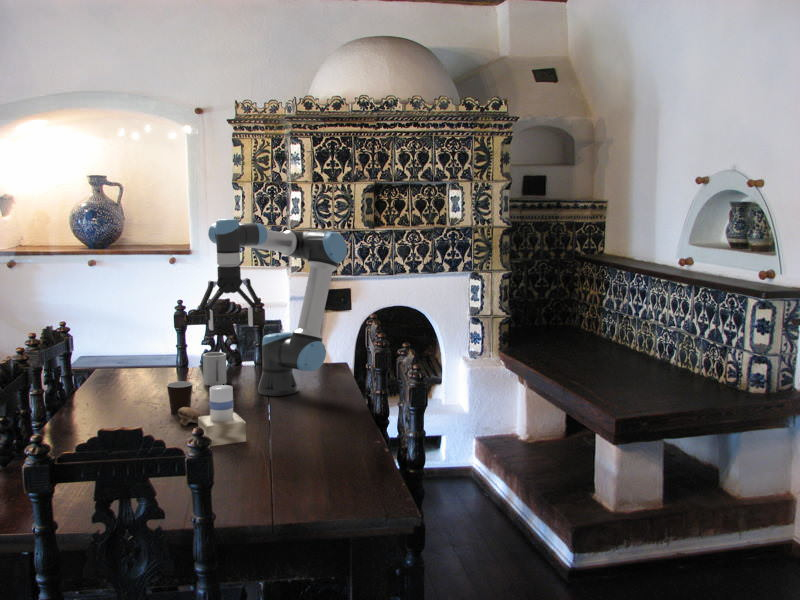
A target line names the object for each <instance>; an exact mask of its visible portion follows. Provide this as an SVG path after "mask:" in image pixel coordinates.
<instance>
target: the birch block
mask: <svg viewBox="0 0 800 600" xmlns="http://www.w3.org/2000/svg"><path fill="white" fill-rule="evenodd" d="M198 427H200V428H202V429H203V430H204V435H205V436H207V437H209V438H210V439H211V440H212V444H211V446H210V447H215V446H222V445H229V444H237V443H244V442H247V424H246V421H245V420H244V419H243V418H242V417H241V416H240V415H239V414H238V413H237V412H233V420H231V421H228V422H213V421H211V420H210V414H209V415H202V416H201V415H200V417H198V423H197V428H198Z"/></svg>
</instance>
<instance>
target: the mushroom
mask: <svg viewBox="0 0 800 600" xmlns="http://www.w3.org/2000/svg"><path fill="white" fill-rule="evenodd" d="M178 416H179V417H180V420H179V422H180V424H181V425H183V426H187V425H188V424H190V423H193V424H198V417H200V416H201V414H200V412H199V411H198V410H197V409H195V408H192V407H191V406H190V407H182V408H180V409H179V410H178Z"/></svg>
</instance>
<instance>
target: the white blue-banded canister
mask: <svg viewBox="0 0 800 600" xmlns="http://www.w3.org/2000/svg"><path fill="white" fill-rule="evenodd" d="M233 388H234V387H233V385H228V384H224V385H217V386H210V387H209V415H210V420H211V421H213V422H228V421H231V420H233V413H234V391H233V390H234V389H233Z"/></svg>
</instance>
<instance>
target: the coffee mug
mask: <svg viewBox="0 0 800 600" xmlns="http://www.w3.org/2000/svg"><path fill="white" fill-rule="evenodd" d="M193 384H194V383H193V382H191V381H174V382H168V383H167V385H166V388H167V394H168V401H169V407H170V413H171V414H172V415H178V410H179V409H180V408H182V407H190V408H191V404H192V393H193ZM178 416H179V415H178Z"/></svg>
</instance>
